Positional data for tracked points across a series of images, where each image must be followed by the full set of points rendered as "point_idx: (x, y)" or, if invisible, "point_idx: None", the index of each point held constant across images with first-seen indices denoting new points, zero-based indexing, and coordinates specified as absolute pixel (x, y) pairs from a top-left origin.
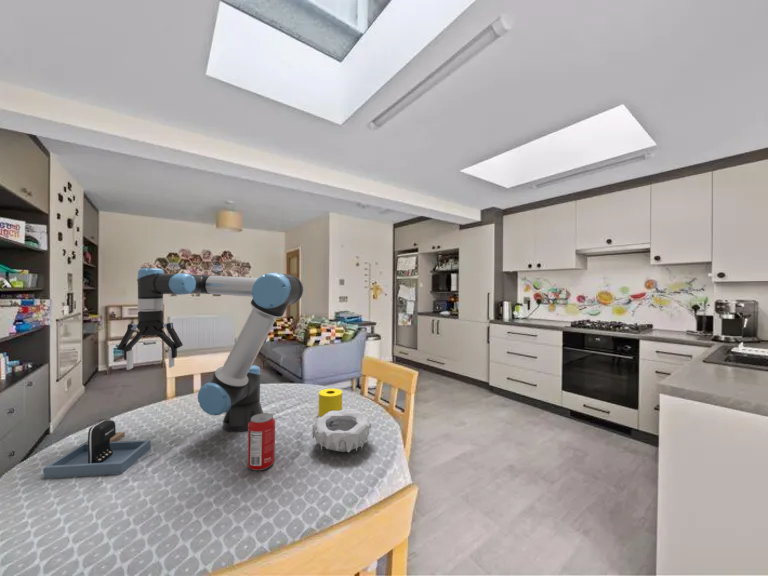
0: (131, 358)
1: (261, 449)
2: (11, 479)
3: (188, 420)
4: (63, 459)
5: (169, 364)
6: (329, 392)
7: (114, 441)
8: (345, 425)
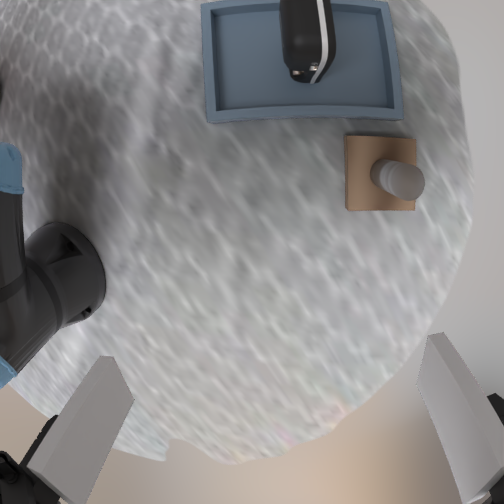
0: (452, 428)
1: None
2: (440, 27)
3: (214, 305)
4: (384, 40)
5: (98, 373)
6: None
7: (346, 161)
8: None
